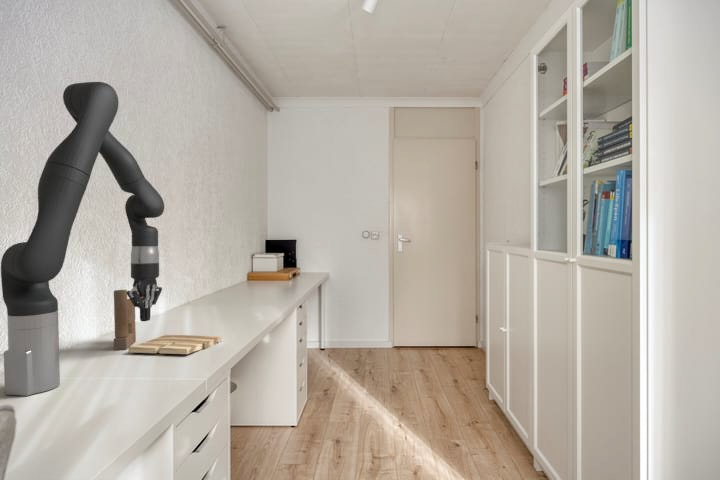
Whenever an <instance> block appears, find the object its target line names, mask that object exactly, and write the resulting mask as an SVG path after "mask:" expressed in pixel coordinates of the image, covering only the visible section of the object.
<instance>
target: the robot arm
mask: <svg viewBox="0 0 720 480" xmlns="http://www.w3.org/2000/svg"><path fill="white" fill-rule="evenodd" d="M62 99H63V104H64V106H65V109H66V110H67V112H68V113H69V115H70V116H71V117H72V119H73V120H74V121H75V123H76V125H75V126H74V128H73V129H72V131H71V132H70V133H69V134H68V135H67V136H66V137H65V138H64V139H63V140H61V142H60V143H59V144H58V145H57V146H56V147H55V149H54V150H53V151H52V152H51V153H50V154H49V156H48V158H47V160H46V161H45V164H44V167H43V170H42V172H41V174H40V178H39V179H38V186H37V204H38V206H37V210H38V211H37V217H36V221H35V223H34V226H33V228H32V230H31V233H30V234H29V237H28V239H27V241H23V242H22V241H21V242H17V243H15V244H12V245H11V246H9V247H8V248H7V249H6V250H5V251H4V253H3V255H2V258H1V262H0V277H1V278H0V279H1V291H2V300H3V302H4V304H5V307H6V311H7V312H6V313H7V350H6V349H5V350H4V351H3V367H4V368H3V369H4V370H3V373H4V375H3V379H4V395H8V396H23V397H24V396H25V397H28V396H31V395H35V394H40V393H43V392H48V391H49V390H53V389H56V388H57V387H59V386H60V384H61V376H60V375H61V373H60V371H61V370H60V369H61V368H60V342H59V341H60V337H59V336H60V332H59V329H60V328H59V303H58V299H57V297H55V295H54V294H53V293H52V290H51V289H50V281H52V280H53V279H54V278H56V277H57V276H58V275H59V273H60V272H61V270H62V268H63V266H64V263H65V259H66V254H67V250H68V245H69V240H70V236H71V232H72V228H73V225H74V223H75V219H76V218H77V214H78V213H79V212H78V211H79V208H80V206H81V204H82V200H83V197H84V196H85V193H86V190H87V188H88V184H89V182H90V179H91V175H92V172H93V169H94V166H95V163H96V161H97V158H98V156H99V154H100V156H102V159H103V160H104V161H105V163H106V165H107V166H108V168H109V170H110V171H111V173H112V175H113V178H114V179H115V180H116V183H117V184H118V186H119V188H120V189H121V190H122V191H123V192H125V193H129V194H131V195H130V196H128V197H127V199H126V202H125V205H124V207H125V208H124V209H125V210H124V211H125V215H126V218H127V221H128V225H129V229H130V231H131V251H130V278H131V279H133V284H132V288H131V290H127V298H128V299H130V300H131V302H132V303H133V305H134V306H135V308H138V309H139V320H140V322H149V321H150V320H151V314H152V313H151V308H152V307H153V306H154V305H156V304H157V302H158V299H159V297H160V295H161V293H162V290H163V288H162V286H158V285H157V284H158V283H157V278H159V277H160V252H159V230H158V228H157V227H156V226H150V225H148V223H147V220H146V219H154V218H159V217H161V216H162V215H163V214H164V212H165V202H164V199H163V197H162V196H161V194H160V193H159V192H158V191H157V190H156V188H154V186H153V185H152V183H151V182H150V181H148V179H147V178H146V177H145V174H144V173H143V171H142V169H141V167H140V165H139V163H138V161H137V160H136V158H135V157H134V156H133V154H132V153H131V152H130V151H129V150H128V149H127V147H125V146H124V145H123V144H122V143H121V142H120V141H119V140H118V139H117V138H116V137H115V136H114V134H112V132H111V131H110V128H111V126H112V124H113V122H114V120H115V118H116V115H117V114H118V111H119V110H118V109H119V97H118V93H117V90H115V88H113V86H112V85H110V84H108V83H106V82H102V81H88V82H87V81H85V82H75V83H72V84H69V85H67V86H66V87H65V89H64V90H63V94H62Z"/></svg>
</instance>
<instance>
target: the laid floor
mask: <svg viewBox="0 0 720 480" xmlns="http://www.w3.org/2000/svg"><path fill="white" fill-rule="evenodd" d="M219 341H221V342H222V336H221V335H191V334H190V335H187V334H164V335H161V336H159V337H156V338H153V339H150V340H147V341H146V342H161V343H173V344H174V343H194V344H202V349H201V350H207V349H209V348H210V346H211V347H213V346H215V345H216V344H215V343H217V342H219ZM219 343H220V342H219ZM214 344H215V345H214ZM217 344H218V343H217ZM212 345H213V346H212ZM208 347H209V348H208ZM206 348H207V349H206Z"/></svg>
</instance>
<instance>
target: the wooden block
mask: <svg viewBox="0 0 720 480" xmlns="http://www.w3.org/2000/svg"><path fill="white" fill-rule="evenodd" d="M127 291H128V290H127V289H115V290H113V306H114V307H113V309H114V310H113V312H114V313H113V314H114V338H113V350H114V351H121V350H122V351H123V350H125V351H126V350H128V349H129V347H131V346H133V344H134V343H136V340H137V338H136V333H137V332H136V307H135V306H134V305H133V303H132V302H131V300H130V298H128V295H127Z"/></svg>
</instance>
